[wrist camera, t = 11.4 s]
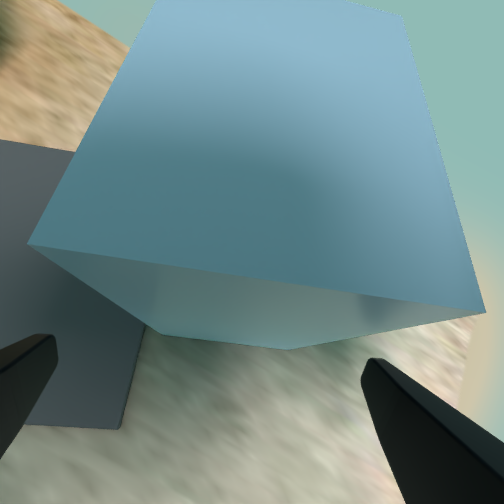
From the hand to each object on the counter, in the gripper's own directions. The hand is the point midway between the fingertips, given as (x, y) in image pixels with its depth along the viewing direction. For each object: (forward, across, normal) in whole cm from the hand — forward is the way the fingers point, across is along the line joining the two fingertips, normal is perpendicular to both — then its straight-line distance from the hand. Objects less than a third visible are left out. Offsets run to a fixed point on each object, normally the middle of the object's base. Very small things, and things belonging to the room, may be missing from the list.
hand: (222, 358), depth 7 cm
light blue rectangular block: (+10, -1, +1) cm, 10 cm away
